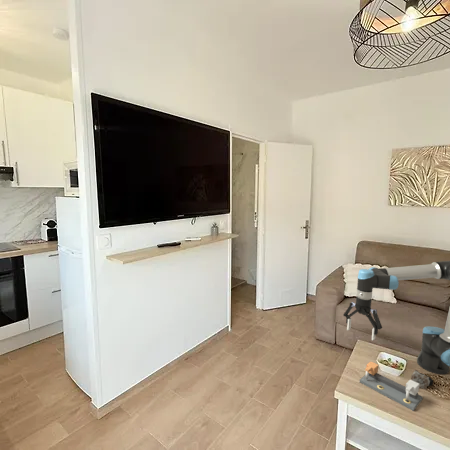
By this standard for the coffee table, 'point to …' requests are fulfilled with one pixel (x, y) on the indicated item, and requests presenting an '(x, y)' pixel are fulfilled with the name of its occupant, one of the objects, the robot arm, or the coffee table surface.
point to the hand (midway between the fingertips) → (360, 334)
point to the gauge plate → (394, 390)
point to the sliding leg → (371, 369)
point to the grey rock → (421, 379)
